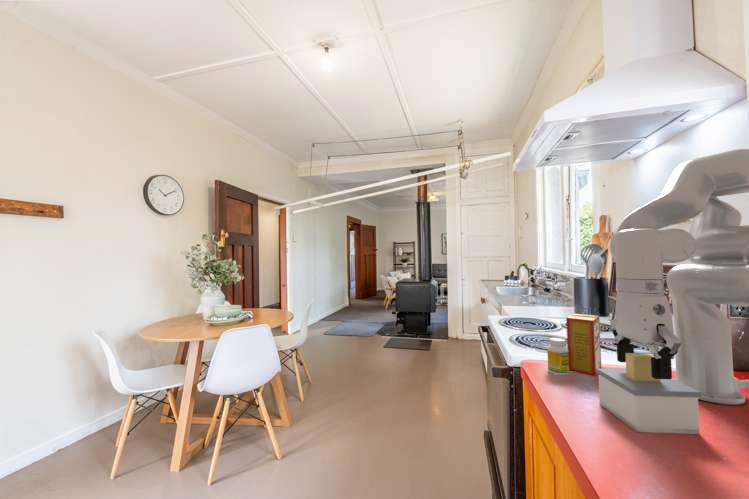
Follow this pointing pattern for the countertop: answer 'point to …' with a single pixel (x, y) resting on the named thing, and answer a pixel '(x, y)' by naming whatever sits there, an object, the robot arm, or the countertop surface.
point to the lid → (645, 379)
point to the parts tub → (650, 410)
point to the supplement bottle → (558, 357)
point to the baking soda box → (584, 343)
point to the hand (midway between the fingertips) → (642, 369)
